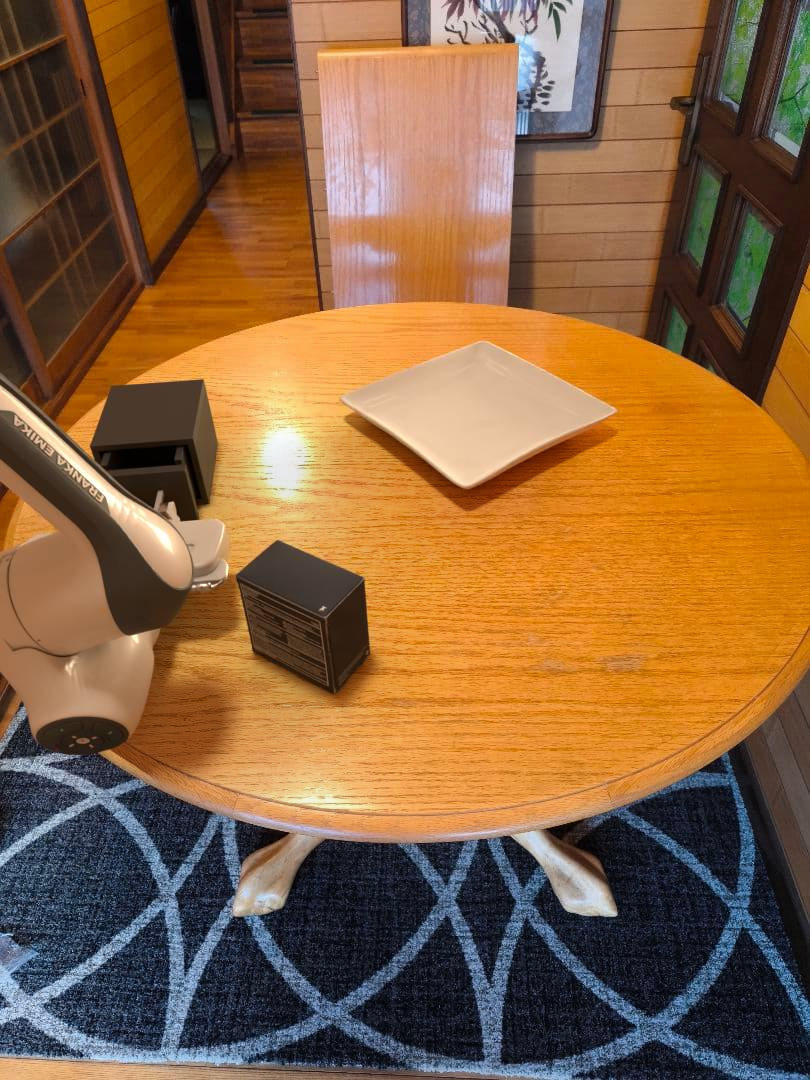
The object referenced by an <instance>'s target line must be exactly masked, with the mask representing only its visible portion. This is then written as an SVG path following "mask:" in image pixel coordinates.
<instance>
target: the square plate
mask: <svg viewBox="0 0 810 1080" xmlns="http://www.w3.org/2000/svg"><path fill="white" fill-rule="evenodd" d="M339 401H340V402H341V403H342V404H343V405H345V406H346V407H348V408H349V409H350V410H351V411H353V412H355V413H357V414H358V415H359V416H361V417H362V418H364V420H366V421H368V422H369V423H371V424H372V425H374V426H375V427H376V428H379V429H380V430H382V431H383V432H385V433H387V434H388V435H389V436H391V437H393V438H394V439H395V440H397V442H400V443H401V444H402V445H404V446H405V447H406V448H408V449H409V450H410V451H412V452H413V453H415V454H416V455H417V456H418V457H420V458H421V459H422V460H423V461H424V462H426V463H427V464H428V465H430V466H431V467H432V468H433V469H435V470H436V471H437V472H438V473H440V474H441V475H442V476H443V477H445V478H446V479H447V480H449V481H450V482H451V483H453V484H454V485H456V486H457V487H460V488H461V489H463V490H470V489H473V488H475V487H477V486H480V485H482V484H484V483H485V482H488V481H490V480H492V479H494V478H495V477H497V476H500V475H501V474H503V473H504V472H506V471H508V470H510V469H511V468H513V467H515V466H517V465H519V464H521V463H523V462H525V461H527V460H528V459H530V458H532V457H534V456H536V455H538V454H540V453H542V452H544V451H546V450H548V449H550V448H552V447H554V446H556V445H559V444H560V443H563V442H565V441H567V440H569V439H572V438H574V437H576V436H579V435H581V434H583V433H586V432H587V431H589V430H591V429H593V428H595V427H597V426H599V425H601V424H602V423H604V422H605V421H606V420H608V419H610V418H611V417H613V416H615V415H616V414H617V413H618V409H616V407H614V406H612V404H611V405H610V404H608V403H607V402H605V401H603V400H602V399H599V398H597V397H596V396H594V395H592V394H590V393H589V392H587V391H584V390H582V389H581V388H579V387H577V386H575V385H573V384H572V383H570V382H568V381H566V380H565V379H562V378H560V377H558V376H556V375H555V374H554V373H551V372H549V371H547V370H545V369H544V368H541V367H539V366H537V365H536V364H534V363H532V362H529V361H528V360H526V359H523V358H522V357H520V356H517V355H516V354H514V353H512V352H510V351H508V350H506V349H505V348H502V347H500V346H499V345H496V344H493V343H492V342H489V341H487V340H480V341H477V342H473V343H471V344H469V345H465V346H463V347H460V348H458V349H455V350H452V351H450V352H447V353H445V354H441V355H440V356H436V357H433V358H431V359H428V360H425V361H423V362H420V363H418V364H415V365H412V366H410V367H407V368H405V369H402V370H400V371H397V372H395V373H392V374H390V375H387V376H385V377H382V378H379V379H378V380H375V381H373V382H370V383H368V384H365V385H363V386H360V387H358V388H356V389H354V390H351V391H348V392H347V393H344V394H342V395H341V396H340V397H339Z"/></svg>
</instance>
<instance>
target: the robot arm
mask: <svg viewBox="0 0 810 1080" xmlns="http://www.w3.org/2000/svg"><path fill="white" fill-rule="evenodd" d="M0 483H2V484H3V485H4V486H5V487H6V488H8V489H9V490H10V491H11V492H12V493H13V494H14V495H16V496H17V497H18V498H20V499H21V500H22V501H23V502H24V503H25V504H26V505H28V507H30V508H32V510H34V512H36V513H37V514H39V515H40V516H41V517H42V518H43V519H44V520H46V521H47V522H48V523H49V524H50V525H52V526H53V527H54V528H55V529H56V530H57V531H54V532H45V533H43V532H42V533H36V534H33V536H31V537H29V538H28V539H26V541H25V542H22V543H19V544H18V545H14V546H13V547H9V548H7V549H5V550H2V551H0V675H1V676H3V677H4V679H5V680H6V681H7V682H8V683H9V685H10V686H11V687H12V688H13V690H14V691H15V693H16V694H17V696H18V697H19V698H20V700H21V702H22V704H23V706H24V708H25V711H26V715H27V719H28V723H29V729H30V733H31V735H32V737H33V740H35V742H36V743H38V744H39V746H41V747H42V748H44V749H46V750H47V751H50V752H54V753H57V754H60V755H66V756H90V755H95V754H100V753H102V752H106V751H109V750H112V749H115V748H117V747H118V746H119V747H120V746H121V745H122V744H125V743H126V742H128V740H129V739H131V737H132V736H133V735H134V733H135V731H136V729H137V728H138V726H139V724H140V722H141V719H142V716H143V714H144V710H145V709H146V704H147V702H148V701H147V700H148V696H149V692H150V689H151V683H152V678H153V673H154V668H155V654H154V650H153V648H154V646H155V644H156V642H157V640H158V639H159V635H160V633H161V629H163V628H167V627H169V626H170V625H172V624H173V623H174V621H175V620H176V618H177V617H178V615H179V614H180V612H181V611H182V609H183V607H184V606H185V604H186V602H187V601H188V598H189V596H190V595H193V594H197V595H205V594H209V593H211V592H212V590H213V589H216V588H219V587H221V586H222V585H225V584H226V582H227V581H228V576H229V568H230V567H229V563H228V560H229V556H230V551H231V541H230V536H229V531H228V528H227V525H226V523H224V522H223V521H222V520H220V519H219V518H207V519H200V520H193V521H182V522H181V521H180V518H179V517H178V516H177V512H176V507H175V504H174V502H167V503H160V504H159V506H160V507H159V509H158V512H157V511H156V510H155V509H153V508H152V507H150V506H149V505H147V504H146V503H144V502H142V501H141V500H140V499H138V498H137V497H135V496H134V495H133V494H131V493H130V492H129V491H127V490H126V489H125V488H124V487H123V486H121V485H120V484H119V483H118V482H117V481H116V480H115V479H114V478H113V477H112V476H111V475H110V474H109V473H108V472H106V471H105V470H104V469H103V468H102V467H101V466H100V465H99V464H98V463H97V462H96V461H95V460H94V457H93V456H91V455H90V454H88V453H87V452H86V450H84V449H83V448H82V446H80V445H79V444H78V443H77V442H76V441H75V440H74V439H72V437H71V436H70V435H68V434H67V432H65V431H64V429H62V428H61V427H60V426H59V425H58V424H57V423H56V422H55V421H54V420H53V419H51V418H50V417H49V416H48V415H47V413H46V412H44V411H43V410H42V409H41V408H40V407H39V406H38V405H37V404H36V403H35V402H33V401H32V400H31V399H30V398H29V397H28V396H27V395H26V394H25V393H24V392H23V391H21V389H19V388H18V387H17V386H16V385H15V384H14V383H13V382H12V381H10V380H9V379H8V378H7V377H6V376H5V375H4V374H3V373H2V372H0Z"/></svg>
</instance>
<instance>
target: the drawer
mask: <svg viewBox="0 0 810 1080" xmlns="http://www.w3.org/2000/svg"><path fill="white" fill-rule="evenodd" d="M100 466H101V467H102V468H103V469H104V470H105V471H106V472H108V473H109V474H110V475H111V476H112V477H113V478H114V479H115V480H116V481H117V482H118V483H119V484H120V485H121V486H123V487H124V488H125V489H126V490H127V491H129V492H130V493H131V494H133V495H134V496H135V497H137V498H138V499H140V500H141V501H142V502H144V503H146V504H147V505H149V506H150V507H152V508H153V509H155V510H156V511H157V512H158V509H159V507H160V506H159V504H160V503H167V502H174V504H175V507H176V512H177V516H178V517H179V518H180V521H181V522H182V521H193V520H201V516H200V513H199V509H198V505H196V496H197V490H198V483H197V480H196V476H195V472H194V468H193V464H192V460H191V456H190V452H189V448H188V444H186V445H173V446H161V447H148V448H135V449H122V450H109V451H105V452H104V455H103V458H102V461H101V464H100Z"/></svg>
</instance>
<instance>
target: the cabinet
mask: <svg viewBox="0 0 810 1080" xmlns="http://www.w3.org/2000/svg"><path fill="white" fill-rule="evenodd" d="M215 428H216V427H215V424H214V419H213V415H212V410H211V406H210V401H209V396H208V391H207V387H206V382H205V379H204V378H202V379H201V378H200V379H188V380H174V381H173V380H172V381H158V382H146V383H145V382H144V383H134V384H133V383H131V384H118V385H111V386H110V389H109V391H108V394H107V397H106V400H105V403H104V405H103V408H102V411H101V413H100V417H99V419H98V422H97V425H96V428H95V430H94V433H93V436H92V438H91V441H90V445H89V448H90V451H91V454H92V458H93V459H94V460H95V461H96V462H97V463H98V464H99V465H100V464H101V461H102V458H103V455H104V452H105V451H109V450H122V449H135V448H148V447H161V446H173V445H186V444H188V448H189V452H190V456H191V460H192V464H193V468H194V472H195V476H196V480H197V483H198V490H197V496H196V505H197V506H199V505H208V504H210V500H211V494H212V493H211V492H212V487H213V486H212V484H213V478H214V471H215V464H216V463H215V462H216V456H217V448H218V437H217V433H216V432H217V431H216V429H215Z"/></svg>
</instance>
